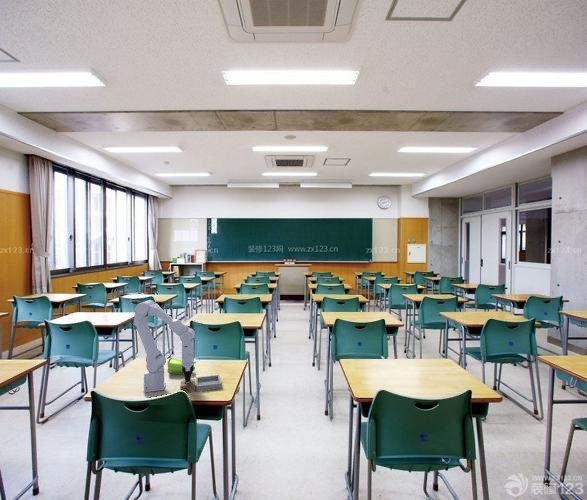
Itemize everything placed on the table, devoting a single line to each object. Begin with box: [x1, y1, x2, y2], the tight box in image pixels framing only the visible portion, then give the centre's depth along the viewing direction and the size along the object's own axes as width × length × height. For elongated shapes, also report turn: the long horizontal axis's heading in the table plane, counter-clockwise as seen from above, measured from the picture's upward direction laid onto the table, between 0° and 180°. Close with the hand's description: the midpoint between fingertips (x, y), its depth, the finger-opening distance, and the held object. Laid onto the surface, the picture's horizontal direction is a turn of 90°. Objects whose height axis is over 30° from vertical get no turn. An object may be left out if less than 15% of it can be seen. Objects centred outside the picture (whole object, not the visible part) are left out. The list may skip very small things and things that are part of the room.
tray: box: [195, 374, 222, 392], centre depth 172 cm, size 12×12×2 cm
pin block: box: [179, 378, 196, 392], centre depth 168 cm, size 7×7×3 cm
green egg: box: [167, 357, 196, 375], centre depth 190 cm, size 8×12×20 cm
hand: (187, 380), depth 168 cm, fingers closed on pin, 2 cm apart
